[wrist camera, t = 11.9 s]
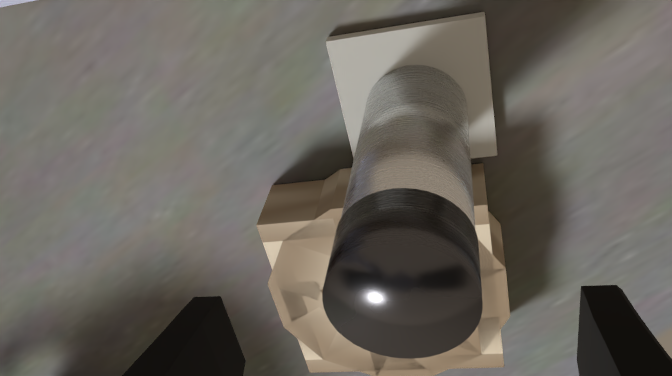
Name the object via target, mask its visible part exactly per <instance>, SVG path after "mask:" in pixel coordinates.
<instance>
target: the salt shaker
mask: <svg viewBox="0 0 672 376" xmlns="http://www.w3.org/2000/svg"><path fill="white" fill-rule="evenodd" d="M322 302H323V307H324V310H325V313H326V315H327V317H328V319H329V321H330V322H331V324H332V325H333V326H334V328H335V329H336V330H337V331H338V332H339V333H340V334H341V335H342V336H343V337H345V338H346V339H347V340H349V341H350V342H352V343H353V344H355V345H357V346H359V347H361V348H363V349H365V350H367V351H370V352H372V353H376V354H379V355H383V356H388V357H393V358H405V359H414V358H424V357H431V356H435V355H439V354H441V353H444V352H447V351H449V350H451V349H453V348H455V347H457V346H458V345H460V344H461V343H463V342H464V341H465V340H466V339H468V338H469V337H470V336H471V334H472V333H473V332H474V331H475V329H476V328H477V326H478V324H479V322H480V319H481V315H482V310H483V301H482V287H481V273H480V258H479V244H478V237H477V233H476V230H475V216H474V201H473V185H472V170H471V155H470V139H469V124H468V109H467V101H466V98H465V95H464V93H463V91H462V89H461V87H460V86H459V84H458V83H457V82H456V81H455V80H454V79H453V78H452V77H451V76H449V75H448V74H446V73H445V72H443V71H441V70H439V69H437V68H434V67H430V66H425V65H408V66H403V67H400V68H396V69H394V70H392V71H390V72H388V73H387V74H385V75H384V76H382V77H381V78H380V79H379V80H378V81H377V82H376V83H375V85H374V86H373V87H372V89H371V91H370V93H369V95H368V98H367V102H366V106H365V111H364V116H363V120H362V125H361V129H360V134H359V138H358V143H357V147H356V152H355V156H354V161H353V165H352V170H351V174H350V179H349V184H348V188H347V193H346V197H345V202H344V206H343V211H342V215H341V219H340V221H339V223H338V226H337V229H336V233H335V237H334V242H333V246H332V251H331V255H330V260H329V264H328V269H327V273H326V277H325V282H324V286H323V292H322Z"/></svg>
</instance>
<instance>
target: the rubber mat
mask: <svg viewBox="0 0 672 376" xmlns="http://www.w3.org/2000/svg"><path fill="white" fill-rule="evenodd" d="M326 45H327V49H328V53H329V57H330V62H331V66H332V70H333V74H334V78H335V83H336V87H337V91H338V95H339V100H340V104H341V108H342V112H343V116H344V121H345V125H346V129H347V133H348V137H349V142H350V146H351V150H352V154H353V158H354V156H355V152H356V147H357V143H358V138H359V134H360V129H361V125H362V120H363V116H364V111H365V106H366V102H367V98H368V95H369V93H370V91H371V89H372V87H373V86H374V85H375V83H376V82H377V81H378V80H379V79H380V78H381V77H382V76H384V75H385V74H387V73H388V72H390V71H392V70H394V69H396V68H400V67H403V66H408V65H425V66H430V67H434V68H437V69H439V70H441V71H443V72H445V73H446V74H448V75H449V76H451V77H452V78H453V79H454V80H455V81H456V82H457V83H458V84H459V86H460V87H461V89H462V91H463V93H464V95H465V98H466V101H467V109H468V124H469V139H470V155H471V158H481V157H490V156H497V145H496V134H495V122H494V111H493V100H492V88H491V77H490V66H489V54H488V43H487V32H486V20H485V12H479V13H473V14H467V15H461V16H454V17H448V18H442V19H436V20H430V21H423V22H417V23H411V24H405V25H399V26H393V27H386V28H380V29H374V30H368V31H362V32H355V33H349V34H343V35H337V36H331V37H327V40H326Z"/></svg>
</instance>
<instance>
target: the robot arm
mask: <svg viewBox="0 0 672 376" xmlns="http://www.w3.org/2000/svg"><path fill="white" fill-rule="evenodd" d="M30 1H35V0H0V7H5V6H10V5H15V4H20V3H25V2H30ZM577 363H578V369H579V376H672V359H671V358H670V356H669V355H668V354H667V353H666V351H665V350H664V349H663V347H662V346H661V345H660V344H659V342H658V341H657V339H656V338H655V337H654V335H653V334H652V333H651V331H650V330H649V329H648V327H647V326H646V325H645V323H644V322H643V320H642V319H641V318H640V316H639V315H638V313H637V312H636V310H635V309H634V307H633V306H632V304H631V303H630V301H629V300H628V298H627V297H626V295H625V294H624V292H623V291H622V289H620V288H619V287H618V286H617V285H604V286H581V297H580V315H579V332H578V349H577ZM244 366H245V358H244V356H243V353H242V351H241V348H240V345H239V343H238V340H237V338H236V335H235V332H234V330H233V327H232V325H231V322H230V319H229V317H228V314H227V312H226V309H225V306H224V304H223V301H222V299H221V296H217V297H194V298H193V299H192V300H191V301H190V302H189V303H188V304H187V305H186V306H185V307H184V309H183V310H182V311H181V312H180V313H179V314H178V315H177V316H176V317H175V319H174V320H173V321H172V322H171V323H170V324H169V325H168V326H167V327H166V329H165V330H164V331H163V332H162V333H161V334H160V335H159V336H158V337H157V339H156V340H155V341H154V342H153V343H152V344H151V345H150V346H149V347H148V348H147V350H146V351H145V352H144V353H143V354H142V355H141V356H140V357H139V358H138V359H137V360H136V361H135V362H134V364H133V365H132V366H131V367H130V368H129V369H128V370H127V371H126V372H125V373H124V374H123V375H122V376H243V372H244Z"/></svg>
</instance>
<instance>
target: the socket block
mask: <svg viewBox="0 0 672 376" xmlns="http://www.w3.org/2000/svg"><path fill="white" fill-rule="evenodd" d="M351 170H352V168H345V169H340V170H338V171H337V172H335V173H334V174H333V175H331V176H330V177H328V178H327V179H325V180H317V181H308V182H298V183H289V184H279V185H272V187H271V190H270V192H269V195H268V197H267V200H266V202H265V205H264V207H263V210H262V212H261V215H260V217H259V220H258V223H257V228H258V231H259V234H260V236H261V239H262V242H263V245H264V248H265V250H266V253H267V256H268V259H269V261H270V264H271V267H272V272H271V275H270V278H269V281H268V286H269V289H270V292H271V294H272V297H273V300H274V302H275V305H276V308H277V310H278V313H279V316H280V318H281V321H282V324H283V326H284V328H286V329H287V330H288V331H289V332H291V333H292V334H293V335H294V336H295V337H297V338H298V341H299V344H300V347H301V349H302V352H303V355H304V358H305V360H306V363H307V366H308V369H309V371H310V373H312V372H348V371H360V372H363V373H366V374H369V375H372V376H434V375H436V374H438V373H441V372H443V371H445V370H448V369H455V368H490V367H504V360H503V350H502V340H501V330H500V329H501V328H502V327H503V325H504V324H505V323H506V321H507V320H508V318H509V317H510V310H509V298H508V287H507V276H506V266H505V258H504V249H503V241H502V232H501V224H500V223H499V222H498V221H497V220H496V219H495V217H494V216H493V215H492V214H491V213H490V212H489V211H488V204H487V194H486V184H485V175H484V165H483V163H480V164H471V170H472V185H473V201H474V216H475V230H476V233H477V237H478V244H479V258H480V273H481V287H482V301H483V310H482V315H481V319H480V322H479V324H478V326H477V328H476V329H475V331H474V332H473V333H472V334H471V336H470V337H469V338H468V339H466V340H465V341H464V342H463V343H461V344H460V345H458V346H457V347H455V348H453V349H451V350H449V351H447V352H444V353H441V354H439V355H435V356H431V357H424V358H414V359H405V358H393V357H388V356H383V355H379V354H376V353H372V352H370V351H367V350H365V349H363V348H361V347H359V346H357V345H355V344H353V343H352V342H350V341H349V340H347V339H346V338H345V337H343V336H342V335H341V334H340V333H339V332H338V331H337V330H336V329H335V328H334V326H333V325H332V324H331V322H330V321H329V319H328V317H327V315H326V313H325V310H324V307H323V302H322V292H323V286H324V282H325V277H326V273H327V269H328V264H329V260H330V255H331V251H332V246H333V242H334V237H335V233H336V229H337V226H338V223H339V221H340V219H341V215H342V211H343V206H344V202H345V197H346V193H347V188H348V184H349V179H350V174H351Z"/></svg>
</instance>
